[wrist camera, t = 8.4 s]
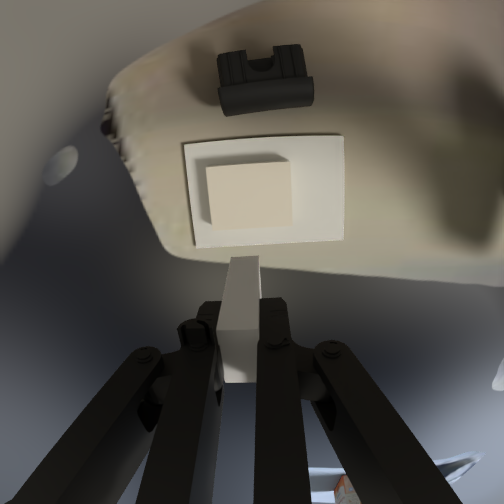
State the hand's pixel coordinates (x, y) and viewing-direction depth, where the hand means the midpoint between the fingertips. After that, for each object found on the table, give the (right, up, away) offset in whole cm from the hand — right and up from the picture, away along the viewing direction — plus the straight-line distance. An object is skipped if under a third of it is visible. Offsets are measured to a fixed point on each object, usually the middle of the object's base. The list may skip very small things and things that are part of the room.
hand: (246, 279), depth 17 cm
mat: (+2, +9, +22) cm, 24 cm away
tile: (0, +8, +21) cm, 22 cm away
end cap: (+2, +22, +17) cm, 28 cm away
